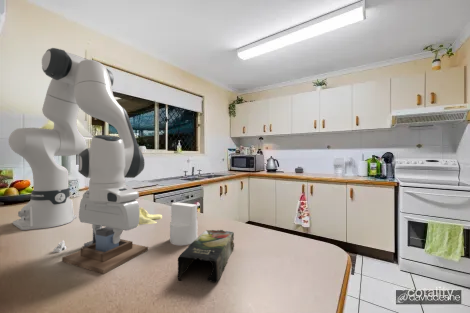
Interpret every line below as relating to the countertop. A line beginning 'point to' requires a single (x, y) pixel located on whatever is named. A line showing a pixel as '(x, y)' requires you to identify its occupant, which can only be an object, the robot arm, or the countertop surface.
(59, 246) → the white irregular angular piece
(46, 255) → the countertop surface
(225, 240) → the juice carton
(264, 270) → the countertop surface
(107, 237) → the grey banded block
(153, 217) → the cloth
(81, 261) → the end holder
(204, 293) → the countertop surface
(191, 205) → the cylinder with rectangular tab
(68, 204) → the robot arm
